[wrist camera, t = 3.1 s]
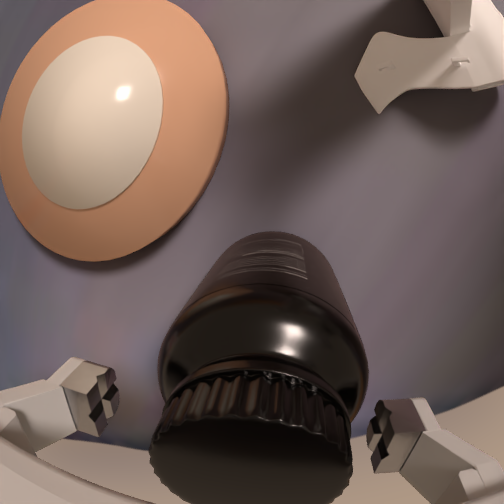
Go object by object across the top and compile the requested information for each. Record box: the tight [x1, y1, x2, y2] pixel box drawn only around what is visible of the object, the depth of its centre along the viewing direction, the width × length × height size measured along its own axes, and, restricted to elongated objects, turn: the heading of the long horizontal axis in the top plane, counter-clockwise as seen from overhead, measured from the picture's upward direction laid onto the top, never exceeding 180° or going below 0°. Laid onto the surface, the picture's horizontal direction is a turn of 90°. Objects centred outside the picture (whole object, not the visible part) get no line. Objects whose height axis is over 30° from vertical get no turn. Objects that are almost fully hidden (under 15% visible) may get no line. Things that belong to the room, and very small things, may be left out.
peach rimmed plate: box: [0, 0, 229, 262], centre depth 15 cm, size 16×16×2 cm
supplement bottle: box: [149, 231, 369, 504], centre depth 12 cm, size 7×7×12 cm
